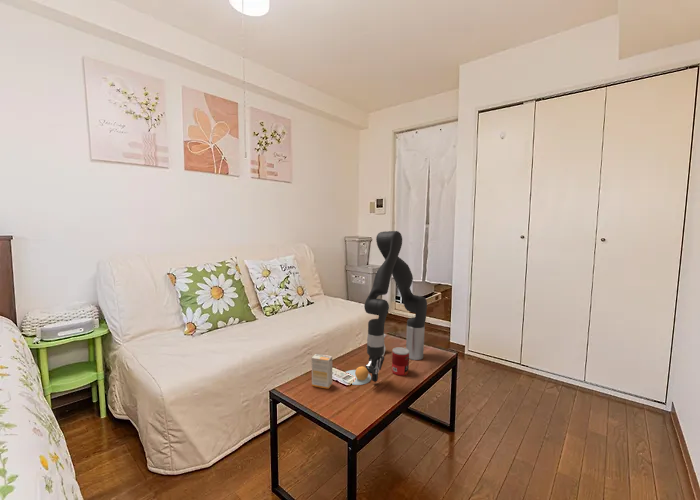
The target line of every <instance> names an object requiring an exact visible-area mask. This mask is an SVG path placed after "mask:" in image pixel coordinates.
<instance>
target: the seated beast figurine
mask: <svg viewBox="0 0 700 500" xmlns="http://www.w3.org/2000/svg"><path fill="white" fill-rule="evenodd" d="M386 337H387V334H385V333H384V339H385V338H386ZM386 349H387V348H386V345H385V343H384V354H383V355H382V356H383V357H385V352H386Z"/></svg>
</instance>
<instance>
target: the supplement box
mask: <svg viewBox="0 0 700 500" xmlns="http://www.w3.org/2000/svg"><path fill="white" fill-rule="evenodd" d="M332 386H333V356H332V355H326V354H319V353H315V354H314V355H313V356H312V357H311V387H316V388H322V389H326V390H329V389H330V387H332Z"/></svg>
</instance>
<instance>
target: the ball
mask: <svg viewBox="0 0 700 500" xmlns="http://www.w3.org/2000/svg"><path fill="white" fill-rule="evenodd" d="M355 370H356V371H355V375H356V377H357V379H359V380H365V379H366V378H367V377H368V373H369V372H368V370H367V368H366V367H365V366H364V365H363V366H358V367H357V368H356V369H355Z"/></svg>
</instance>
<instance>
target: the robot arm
mask: <svg viewBox="0 0 700 500" xmlns="http://www.w3.org/2000/svg"><path fill="white" fill-rule="evenodd" d="M375 241H376V245H377V248H378V250H379V251H380V254H381V255H382V257H383V258H384V261H383V262H382V264H381V265H380V266H379V267H378V269H377V270H376V273H375V275H374V279H373V285H372V288H371V290H370V292H369V294H368V296H367V298H366V300H365V301H364V311H365V313H367V314H369V315H374V316H378V318H372V319H370V320H369V321H368V322H367V327H368V328H367V339H366V353H367V355H368V356H369V358H368V363H366V364H365V366H364V367H365V368H367V370H368V373H369V374H371V381H372V382H375V383H376V382H377V381H378V380H379V373H380V371H381V369H382V367H383V363H384V360H385V356H382V355H383V354H384V355H385V353H384V344H385V338H384V334H385V323H386V318H387V315H388V313H389V309H390V308H389V307H390V305H389V302H388V301H387V300H386V299H382V298H381V299H380V298H378V297H380V296H385V295H387V294H388V292H389V288H390V283H391V282H390V281H391V279H392V278H393V280H394V282H395V284H396V286H397V289H398V291H399V293H400V296H401V300H402V304H403V306H404V308H405V310H406V311H408V312H409V313H413V314H415V316H414V317H410V318H408V319H407V320H406V338H405V339H406V344H405V348H406V349H408V350H409V360H413V361H414V360H415V361H418V360H419V361H420V360H422V359H424V350H425V349H424V348H425V346H424V345H425V326H426V325H425V324H426V319H427V311H428V310H427V309H428V301H427V298H426V297H425V296H421V295H416V294H414V293H413V292H412V290H411V286H412V284H413V281H414V280H413V279H414V276H413V273H412V271H411V268H410V266H409V265H408V264H407V263H406V262H405V261H404V260H403V259H402V258H401V257H400V256H399V255H400V252H401V249H402V246H403V235H402V233H401V232H400V231H398V230H392V231H391V230H389V231H388V230H387V231H386V230H385V231H380V232H378V233H377V235H376V237H375Z"/></svg>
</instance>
